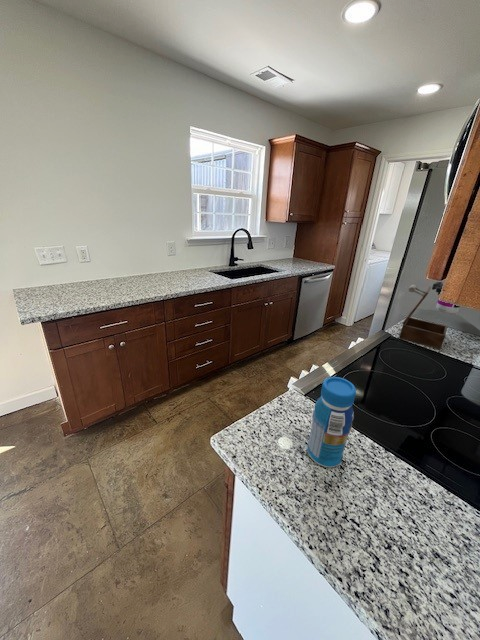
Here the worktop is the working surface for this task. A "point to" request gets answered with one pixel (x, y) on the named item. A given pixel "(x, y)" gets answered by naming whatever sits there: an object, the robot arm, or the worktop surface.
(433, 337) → the storage bin
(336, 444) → the beverage bottle
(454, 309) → the supplement can
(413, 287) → the bin lid
